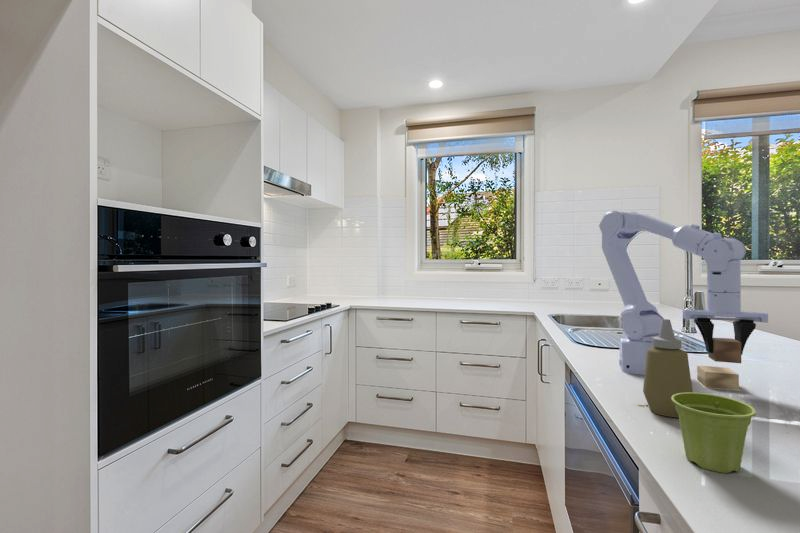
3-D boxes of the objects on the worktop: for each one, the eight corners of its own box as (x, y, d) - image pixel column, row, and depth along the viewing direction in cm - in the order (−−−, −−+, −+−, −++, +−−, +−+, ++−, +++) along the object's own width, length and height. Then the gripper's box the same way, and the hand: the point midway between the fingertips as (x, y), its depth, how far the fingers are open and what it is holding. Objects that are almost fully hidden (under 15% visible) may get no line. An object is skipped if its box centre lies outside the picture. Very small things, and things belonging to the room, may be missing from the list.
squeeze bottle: (687, 408, 76) (686, 317, 76) (699, 423, 69) (698, 323, 69) (640, 402, 79) (638, 316, 79) (646, 416, 72) (645, 321, 72)
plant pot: (765, 488, 49) (764, 420, 49) (674, 468, 54) (673, 407, 54) (747, 457, 57) (746, 398, 57) (669, 442, 62) (669, 388, 62)
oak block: (705, 387, 87) (705, 371, 87) (697, 379, 92) (697, 365, 92) (738, 390, 84) (738, 374, 84) (728, 382, 90) (728, 367, 90)
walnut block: (715, 361, 84) (715, 340, 84) (708, 356, 88) (708, 337, 88) (741, 363, 82) (741, 342, 82) (733, 358, 86) (733, 338, 86)
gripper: (688, 292, 84) (688, 353, 84) (775, 294, 78) (775, 360, 78) (680, 290, 91) (680, 347, 91) (759, 291, 85) (759, 352, 85)
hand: (723, 352), depth 85 cm, fingers closed on walnut block, 4 cm apart
